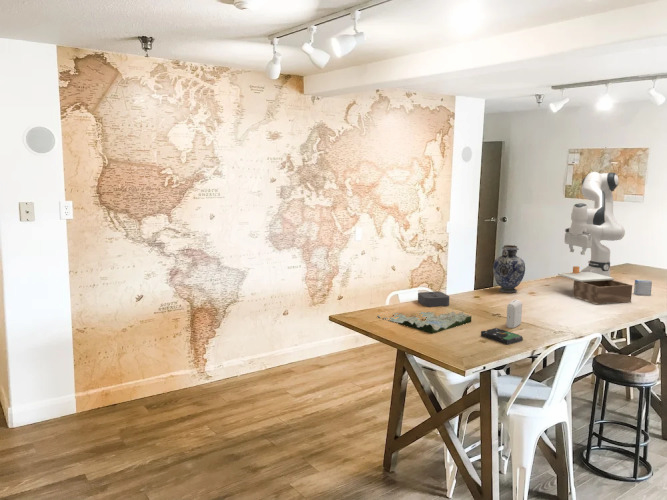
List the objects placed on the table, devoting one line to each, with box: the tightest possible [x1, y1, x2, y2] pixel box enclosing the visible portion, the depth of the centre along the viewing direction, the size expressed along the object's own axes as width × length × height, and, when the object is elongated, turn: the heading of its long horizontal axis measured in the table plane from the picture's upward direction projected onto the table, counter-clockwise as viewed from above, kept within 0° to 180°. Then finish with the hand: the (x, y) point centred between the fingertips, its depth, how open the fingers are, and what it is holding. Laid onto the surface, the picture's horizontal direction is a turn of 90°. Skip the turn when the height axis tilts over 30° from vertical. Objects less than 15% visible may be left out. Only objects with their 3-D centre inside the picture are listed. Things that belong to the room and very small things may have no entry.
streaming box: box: [417, 291, 450, 308], centre depth 293 cm, size 14×14×5 cm
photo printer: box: [506, 299, 523, 329], centre depth 250 cm, size 10×4×12 cm, turn 140°
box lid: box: [557, 265, 615, 282], centre depth 313 cm, size 20×22×5 cm
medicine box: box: [633, 279, 653, 296], centre depth 313 cm, size 8×4×9 cm, turn 84°
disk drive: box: [480, 327, 524, 346], centre depth 232 cm, size 10×3×15 cm
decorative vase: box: [492, 244, 526, 294], centre depth 321 cm, size 21×19×28 cm
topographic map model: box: [376, 311, 472, 335], centre depth 261 cm, size 36×29×5 cm
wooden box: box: [572, 279, 633, 306], centre depth 301 cm, size 20×22×10 cm
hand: (577, 253), depth 320 cm, fingers open, 8 cm apart
